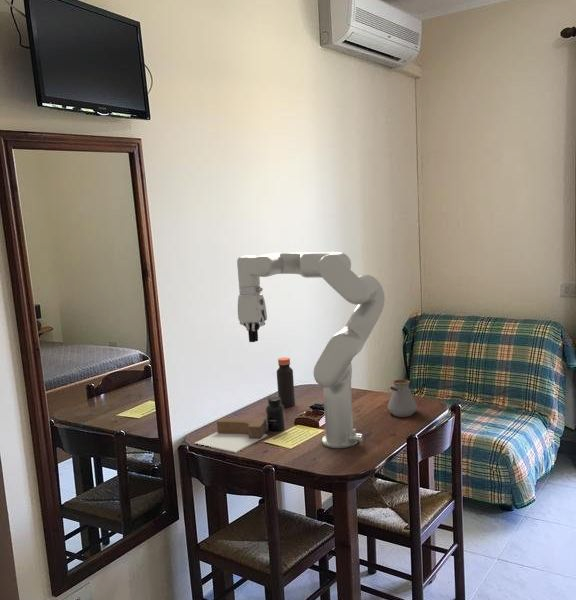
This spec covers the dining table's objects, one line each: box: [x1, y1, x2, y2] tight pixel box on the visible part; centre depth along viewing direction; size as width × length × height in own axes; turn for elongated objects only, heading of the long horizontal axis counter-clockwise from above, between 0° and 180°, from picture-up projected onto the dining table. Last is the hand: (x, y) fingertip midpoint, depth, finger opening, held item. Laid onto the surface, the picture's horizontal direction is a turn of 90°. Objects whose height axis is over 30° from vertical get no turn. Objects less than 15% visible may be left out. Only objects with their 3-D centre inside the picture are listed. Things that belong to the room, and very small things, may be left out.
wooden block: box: [216, 417, 268, 439], centre depth 224 cm, size 9×4×18 cm
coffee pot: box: [387, 378, 418, 418], centre depth 232 cm, size 21×12×15 cm, turn 155°
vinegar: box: [276, 357, 296, 408], centre depth 256 cm, size 7×7×20 cm
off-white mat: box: [194, 431, 268, 454], centre depth 220 cm, size 19×18×1 cm
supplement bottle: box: [265, 396, 286, 433], centre depth 228 cm, size 7×7×12 cm
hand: (253, 341), depth 219 cm, fingers closed
